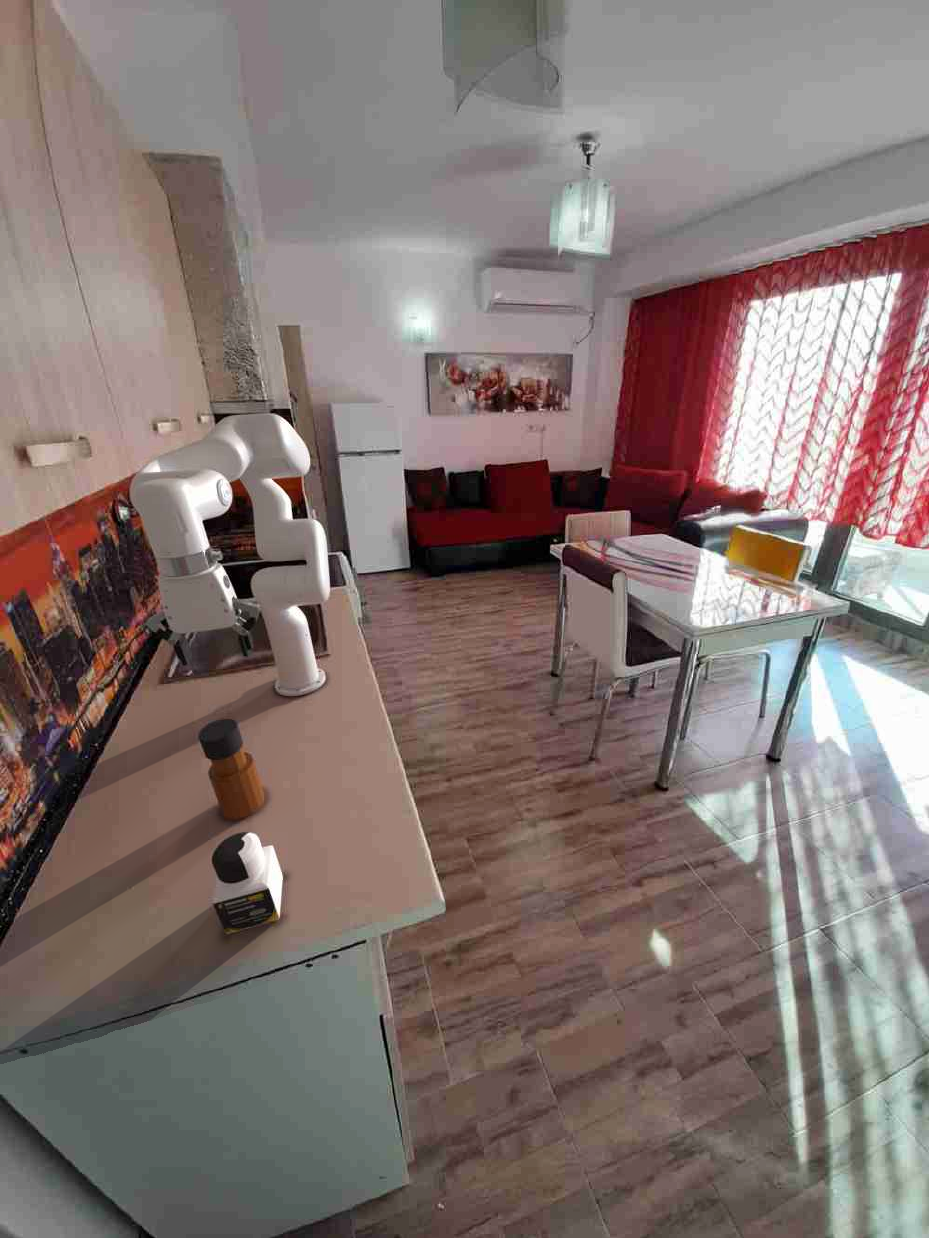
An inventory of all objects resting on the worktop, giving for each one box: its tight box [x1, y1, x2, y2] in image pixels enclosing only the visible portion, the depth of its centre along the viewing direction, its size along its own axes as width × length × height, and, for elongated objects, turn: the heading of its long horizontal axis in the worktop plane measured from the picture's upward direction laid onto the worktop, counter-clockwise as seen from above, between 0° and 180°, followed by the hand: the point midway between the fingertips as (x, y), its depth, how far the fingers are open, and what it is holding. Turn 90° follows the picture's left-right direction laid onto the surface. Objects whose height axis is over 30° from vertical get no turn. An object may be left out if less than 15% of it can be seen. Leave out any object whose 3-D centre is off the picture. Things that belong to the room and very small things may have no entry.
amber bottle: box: [207, 746, 266, 820], centre depth 84 cm, size 7×7×13 cm
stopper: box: [197, 718, 244, 761], centre depth 81 cm, size 6×6×8 cm
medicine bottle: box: [211, 831, 284, 935], centre depth 66 cm, size 7×7×12 cm
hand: (218, 657), depth 81 cm, fingers open, 9 cm apart
